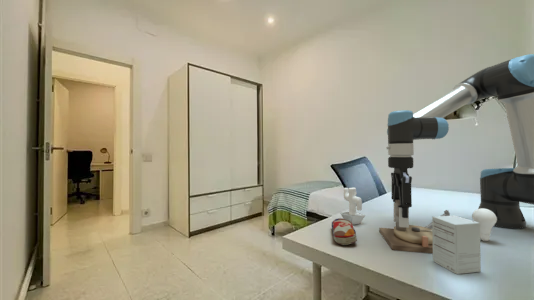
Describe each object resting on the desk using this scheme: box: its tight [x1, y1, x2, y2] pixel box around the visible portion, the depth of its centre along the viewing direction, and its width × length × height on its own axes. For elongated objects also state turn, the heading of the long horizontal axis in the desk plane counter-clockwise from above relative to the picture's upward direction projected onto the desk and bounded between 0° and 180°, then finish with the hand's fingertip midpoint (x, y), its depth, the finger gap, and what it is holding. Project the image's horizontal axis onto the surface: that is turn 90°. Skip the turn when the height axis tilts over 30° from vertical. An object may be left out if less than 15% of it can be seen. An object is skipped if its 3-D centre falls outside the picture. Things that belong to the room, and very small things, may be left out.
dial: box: [393, 200, 433, 244], centre depth 79 cm, size 13×13×12 cm
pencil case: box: [331, 217, 358, 246], centre depth 85 cm, size 11×20×5 cm, turn 153°
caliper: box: [424, 209, 451, 229], centre depth 93 cm, size 21×1×6 cm, turn 119°
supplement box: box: [431, 214, 482, 275], centre depth 63 cm, size 7×7×13 cm
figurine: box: [340, 187, 366, 225], centre depth 101 cm, size 7×9×15 cm
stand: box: [378, 227, 433, 254], centre depth 79 cm, size 19×17×2 cm
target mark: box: [422, 236, 428, 247], centre depth 72 cm, size 1×1×3 cm
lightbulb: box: [471, 208, 497, 242], centre depth 80 cm, size 6×6×11 cm
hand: (400, 224), depth 80 cm, fingers open, 5 cm apart
